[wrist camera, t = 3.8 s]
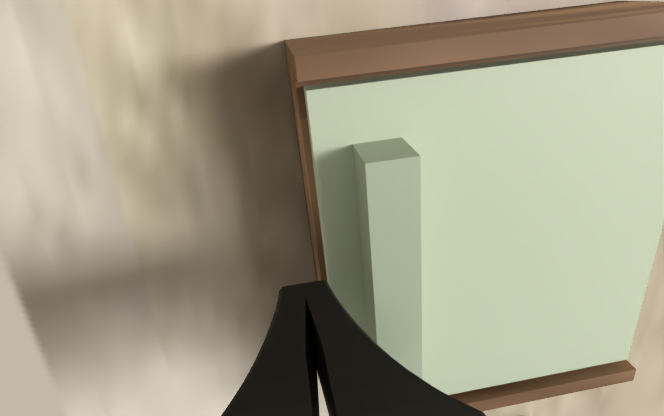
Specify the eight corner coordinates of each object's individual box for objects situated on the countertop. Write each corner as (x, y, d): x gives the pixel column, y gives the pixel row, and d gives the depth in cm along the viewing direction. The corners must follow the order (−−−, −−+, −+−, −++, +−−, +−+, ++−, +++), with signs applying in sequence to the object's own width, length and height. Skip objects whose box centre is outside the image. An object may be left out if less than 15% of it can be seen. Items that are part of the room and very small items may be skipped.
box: (566, 311, 22) (633, 380, 18) (326, 356, 21) (343, 439, 17) (619, 1, 16) (739, 2, 12) (284, 40, 15) (294, 56, 11)
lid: (614, 347, 19) (659, 390, 17) (341, 400, 18) (353, 454, 15) (691, 36, 13) (771, 44, 11) (303, 86, 12) (312, 104, 10)
